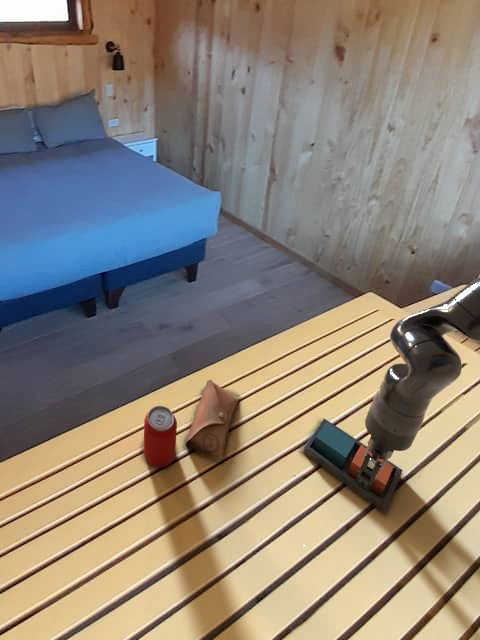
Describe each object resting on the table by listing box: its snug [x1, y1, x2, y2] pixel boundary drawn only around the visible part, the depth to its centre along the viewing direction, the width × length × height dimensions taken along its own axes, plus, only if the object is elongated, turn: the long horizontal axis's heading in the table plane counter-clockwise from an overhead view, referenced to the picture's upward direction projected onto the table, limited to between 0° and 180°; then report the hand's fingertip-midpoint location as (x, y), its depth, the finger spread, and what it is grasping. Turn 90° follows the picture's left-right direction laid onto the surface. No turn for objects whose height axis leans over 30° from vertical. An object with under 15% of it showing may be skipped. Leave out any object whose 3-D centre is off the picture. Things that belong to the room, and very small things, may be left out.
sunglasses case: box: [185, 379, 239, 459], centre depth 92 cm, size 18×7×7 cm, turn 155°
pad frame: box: [302, 418, 404, 513], centre depth 83 cm, size 16×10×3 cm, turn 43°
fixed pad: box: [313, 422, 355, 469], centre depth 85 cm, size 6×5×4 cm
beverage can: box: [143, 405, 178, 468], centre depth 84 cm, size 7×7×12 cm
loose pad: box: [348, 445, 394, 497], centre depth 80 cm, size 6×5×4 cm
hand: (370, 468), depth 80 cm, fingers open, 8 cm apart
